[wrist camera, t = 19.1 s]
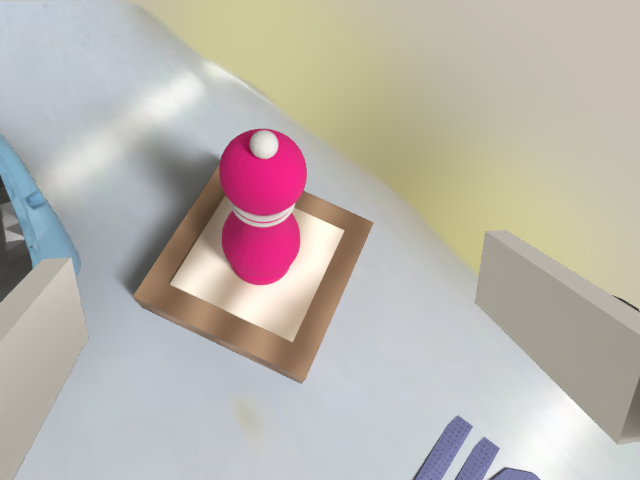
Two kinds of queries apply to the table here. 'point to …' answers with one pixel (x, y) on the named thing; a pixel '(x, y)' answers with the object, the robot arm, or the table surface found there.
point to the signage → (475, 464)
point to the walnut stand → (256, 300)
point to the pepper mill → (261, 204)
